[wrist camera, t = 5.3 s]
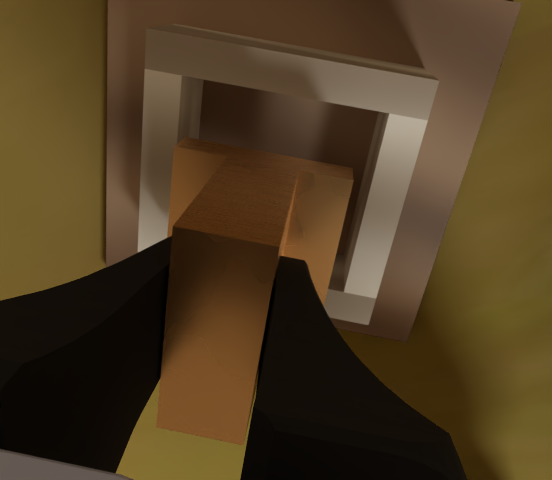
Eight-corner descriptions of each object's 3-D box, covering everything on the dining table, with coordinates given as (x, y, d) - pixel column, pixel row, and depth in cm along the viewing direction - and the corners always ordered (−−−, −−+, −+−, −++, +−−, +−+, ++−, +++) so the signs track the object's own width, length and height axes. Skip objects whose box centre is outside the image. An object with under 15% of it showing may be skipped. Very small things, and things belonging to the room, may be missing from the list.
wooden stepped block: (319, 310, 17) (309, 459, 11) (173, 281, 17) (92, 413, 11) (352, 168, 15) (360, 262, 9) (185, 137, 15) (93, 210, 9)
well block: (405, 332, 23) (415, 388, 20) (112, 273, 24) (74, 319, 21) (514, 3, 17) (557, 3, 14) (117, -66, 18) (64, -82, 14)
